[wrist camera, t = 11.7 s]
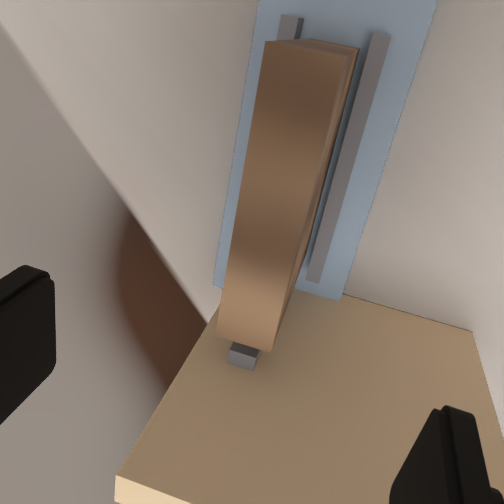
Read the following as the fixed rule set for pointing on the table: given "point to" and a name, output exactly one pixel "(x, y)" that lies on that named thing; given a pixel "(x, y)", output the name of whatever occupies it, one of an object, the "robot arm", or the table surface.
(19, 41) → the table surface
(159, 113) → the table surface
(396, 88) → the cabinet side
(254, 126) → the door
